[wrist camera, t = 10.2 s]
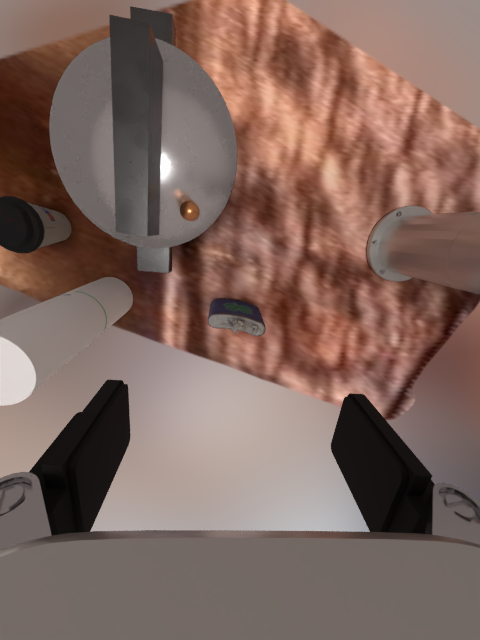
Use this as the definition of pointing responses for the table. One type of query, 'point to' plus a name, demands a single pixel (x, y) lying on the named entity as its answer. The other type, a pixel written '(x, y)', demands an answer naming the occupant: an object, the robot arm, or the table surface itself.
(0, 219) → the coffee cup
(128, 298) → the cylindrical container
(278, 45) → the table surface
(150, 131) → the lid
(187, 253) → the table surface
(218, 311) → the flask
